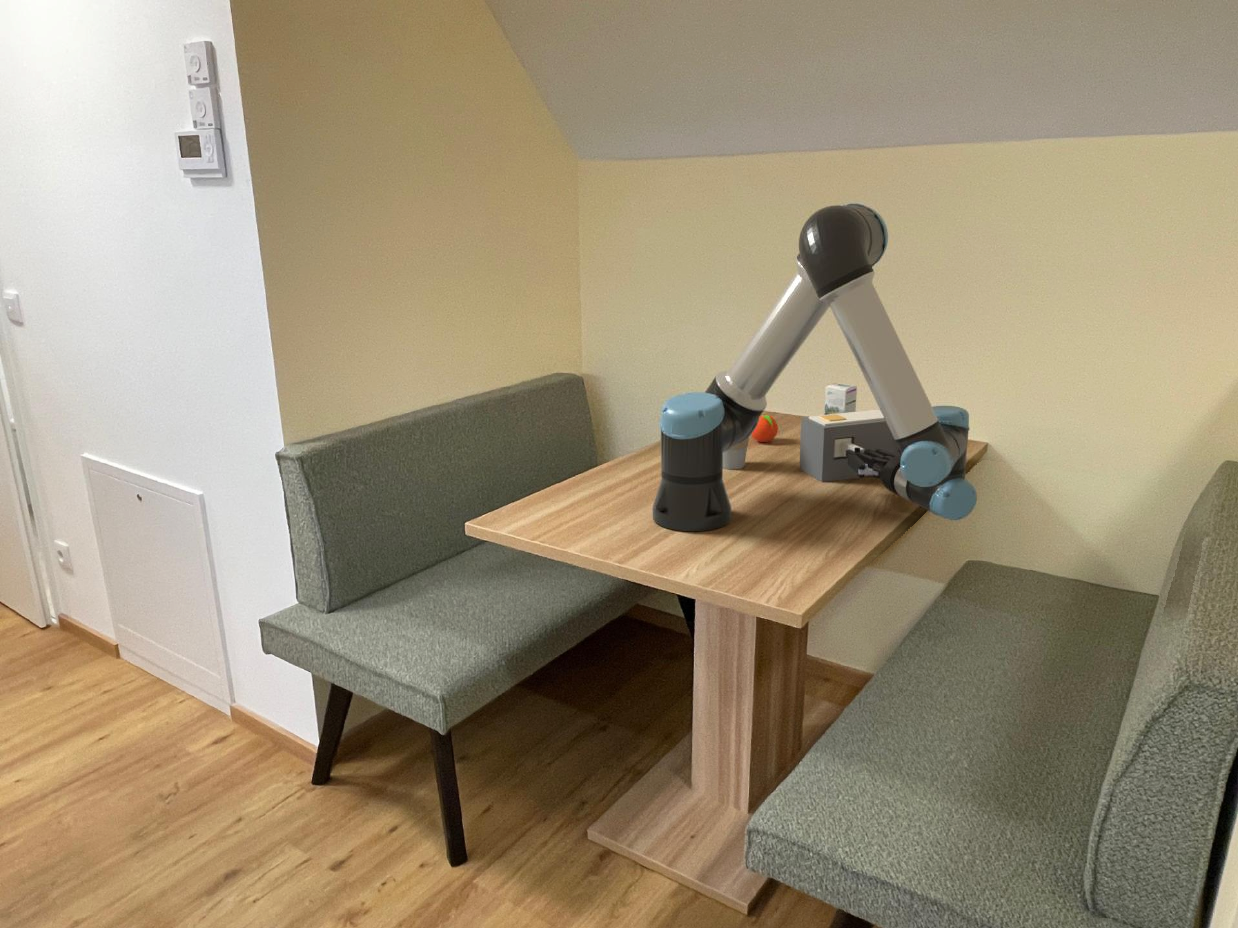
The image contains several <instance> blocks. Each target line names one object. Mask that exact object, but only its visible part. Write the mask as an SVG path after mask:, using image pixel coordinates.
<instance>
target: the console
mask: <svg viewBox="0 0 1238 928" xmlns="http://www.w3.org/2000/svg"><path fill="white" fill-rule="evenodd" d="M844 437H851V438H852V439H851V443H852V444H854V445H856V446H859V447H861V448H863V449H865V450H867V449H870V450H872V451H874V452H875V450H876V449H880V450H883V451H887V452H890V453H894V454H897V455H902V454H901V452H900V450H899V448H898V445H897V443H896V441H895V439H894V437H893V435H892V433H891V431H890V429H889V427H888V425H887V423H886V421H885V418H884V416H883V414H882V412H881V410H880V408H878V409H868V410H860V411H857V410H856V411H855V412H847V413H838V414H828V415H824V414H821V415H820V414H819V415H810V416H809V415H808V416H802V417H801V418H800V440H799V441H800V442H799V443H800V444H799V445H800V446H799V468H798V469H799V470H800V471H802V472H804V473H805V474H807V475H809V476H811V477H813V478H814V479H816V480H817V481H819V482H821V483H824V482H832V481H839V480H848V479H855V478H858V474H857V473H856V472H855V471H854V470H853V469H852V468H851V467H850V466H849V465H848V458H847V457H845V456H843V457H835V458H834V442H835V438H844ZM881 455H882V454H881ZM871 476H872V475H867V476H866V477H871ZM872 477H873V476H872Z"/></svg>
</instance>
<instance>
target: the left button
mask: <svg viewBox="0 0 1238 928" xmlns="http://www.w3.org/2000/svg"><path fill="white" fill-rule="evenodd" d="M851 439H852V438H851V437H844V438H835V442H834V458H835V457H843V455H841V451H842V442H850V443H851Z"/></svg>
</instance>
